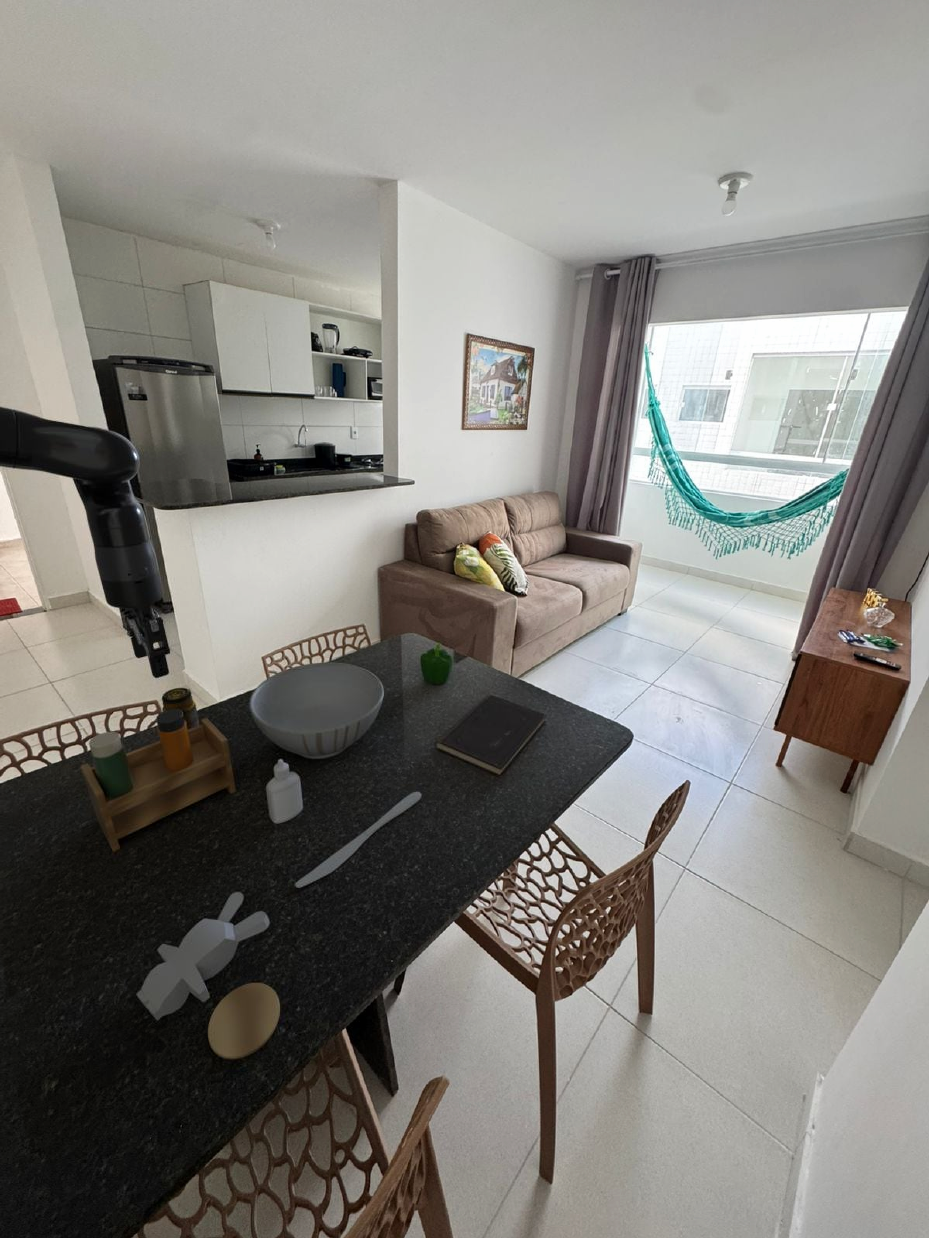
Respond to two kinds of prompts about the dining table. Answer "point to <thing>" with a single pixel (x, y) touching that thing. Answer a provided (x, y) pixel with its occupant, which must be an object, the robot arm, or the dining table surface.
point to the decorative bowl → (317, 707)
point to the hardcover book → (492, 734)
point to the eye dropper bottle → (284, 794)
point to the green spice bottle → (111, 764)
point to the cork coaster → (244, 1021)
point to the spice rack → (162, 784)
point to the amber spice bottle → (174, 740)
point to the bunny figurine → (197, 959)
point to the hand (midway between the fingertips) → (152, 665)
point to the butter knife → (356, 842)
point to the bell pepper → (436, 665)
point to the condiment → (181, 705)
